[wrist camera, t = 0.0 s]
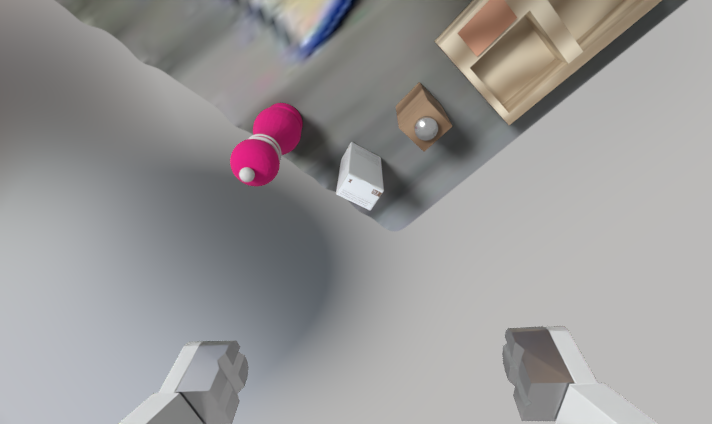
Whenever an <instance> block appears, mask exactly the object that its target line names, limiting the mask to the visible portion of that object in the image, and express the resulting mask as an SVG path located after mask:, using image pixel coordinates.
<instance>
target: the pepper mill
mask: <svg viewBox="0 0 712 424" xmlns="http://www.w3.org/2000/svg"><path fill="white" fill-rule="evenodd" d="M302 126H303V122H302V118H301V115H300V114H299V112H298V111H297V110H296V109H295V108H294V107H293V106H291V105H289V104H285V103H277V104H274V105H272V106H271V107H270V108H267V109H265V110H263V111H262V112H261V113H260V114H259V115H258V116H257V118H256V119H255V122H254V126H253V136H251V137H250V138H248V140H244V141H242V142H241V143H239V144H238V145H237V146H236V147H235V148H234V150H233V152H232V155H231V159H230V164H231V168H232V171H233V173H234V175H235V176H236V177H237V178H238V179H239V180H240V181H241V182H243V183H245V184H247V185H251V186H262V185H265V184H267V183H269V182H270V181H272V180H273V179H274V178H275V176H276V175H277V173H278V170H279V164H280V163H279V162H280V160H281V155H284V154H286V153H289V152H290V151H292V150H293V149H294V148H295V147H296V146H297V144H298V143H299V141H300V138H301V130H302Z"/></svg>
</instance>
